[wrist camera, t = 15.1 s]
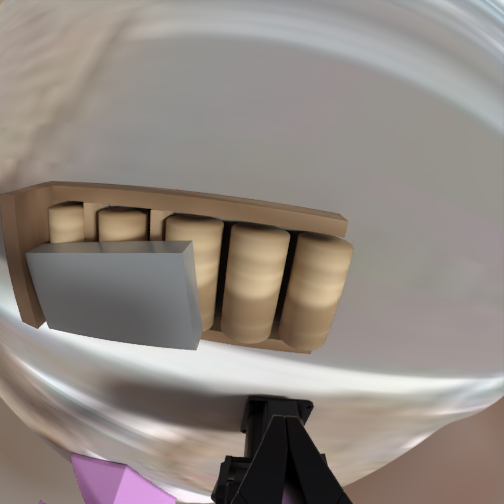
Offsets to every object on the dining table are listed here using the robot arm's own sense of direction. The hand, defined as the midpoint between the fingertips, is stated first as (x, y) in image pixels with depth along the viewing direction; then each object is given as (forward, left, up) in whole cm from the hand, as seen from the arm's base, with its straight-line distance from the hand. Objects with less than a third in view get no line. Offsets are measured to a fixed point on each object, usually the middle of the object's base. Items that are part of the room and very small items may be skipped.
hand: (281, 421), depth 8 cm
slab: (-1, +11, -8) cm, 14 cm away
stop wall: (0, +18, -12) cm, 22 cm away
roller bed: (0, +7, -12) cm, 14 cm away
